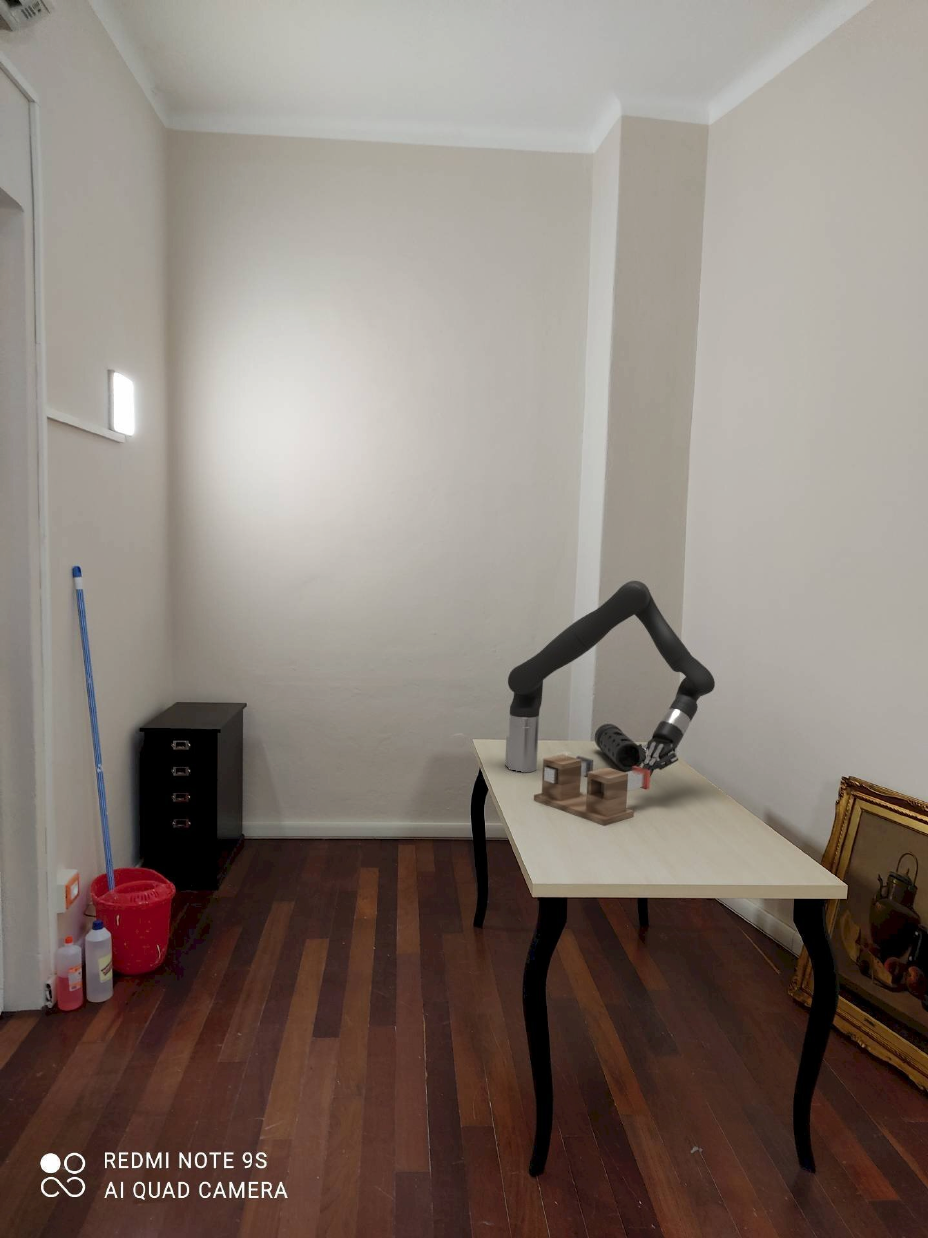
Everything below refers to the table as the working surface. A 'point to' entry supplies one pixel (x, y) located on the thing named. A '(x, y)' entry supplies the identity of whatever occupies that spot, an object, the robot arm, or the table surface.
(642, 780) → the red plug
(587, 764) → the charcoal plug
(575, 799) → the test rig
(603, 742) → the muzzle brake
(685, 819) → the table surface
